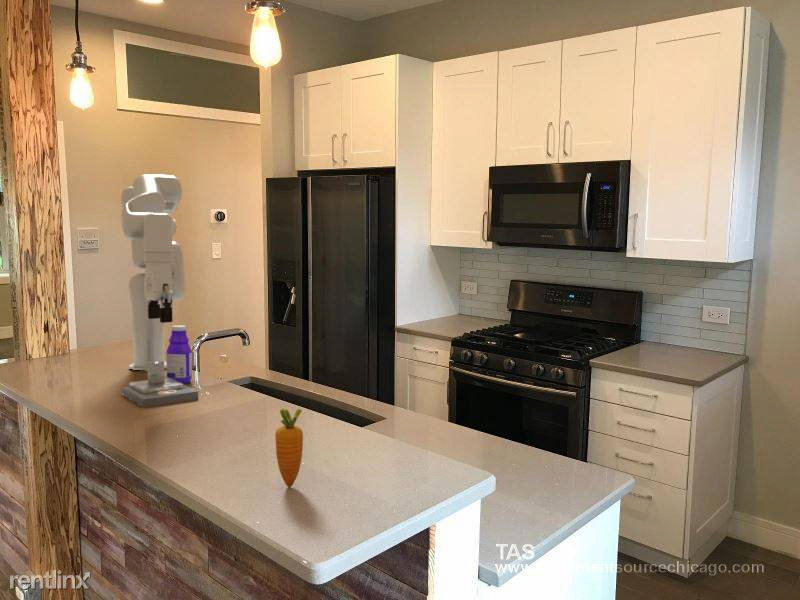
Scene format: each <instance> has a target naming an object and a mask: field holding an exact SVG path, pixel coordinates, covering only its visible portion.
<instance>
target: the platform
mask: <svg viewBox="0 0 800 600" xmlns="http://www.w3.org/2000/svg"><path fill="white" fill-rule="evenodd" d="M129 386H131V387H133V388H134V389H136V390H138V391H140V392H141V393H143V394H145V393H151V392H158V391H161V390H172V389H179V388H183V384H181V383H179V382H177V381H175V380H173V379H171V378H169V377H167V376H166V377H165V383H164V384H161V385H148V379H145V380H140V381H139V380H138V381H129Z"/></svg>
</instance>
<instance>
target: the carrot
mask: <svg viewBox="0 0 800 600" xmlns="http://www.w3.org/2000/svg"><path fill="white" fill-rule="evenodd" d="M301 412H302V409H301V408H297V410H296V411H295V413H294V415H293V417H292V416H291V414H290V411H289V410H288V409H285V408H283V407H282V408H281V409H279V413H280V415H281V417H282V419H281V420H280V422H281V423H282V424H283V426H281V427H279V428H278V429H277V430H276V431H275V450H276V451H275V452H276V460H277V464H278V469H279V472H280V475H281V478H282V480H283V482H284V483H285V485H286V486H287V487H288V488H289V487H290V488H291V487H292V486H293V485H294V483H295V481H296V480H297V477H298V475H299V473H300V468H301V463H302V459H303V447H304V432H303V430H302V429H301V428H300V427H299V426H298V425H295V424H296V422H297V420H298V418H299V416H300V415H301Z"/></svg>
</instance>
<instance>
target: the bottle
mask: <svg viewBox="0 0 800 600" xmlns="http://www.w3.org/2000/svg"><path fill="white" fill-rule="evenodd" d="M170 334H171V335H170V338H169V339H168V342H169V344H168V347H167V348H166V362H167V368H166V378H167V377H169V378H171V379H173V380H176V381H178V382H180V383H182V384H184V385H186V384H188V383H190V382H191V380H192V377H193V359H192V358H193V353H192V348H191V346H190V344H189V342H190V339H189V337H188V335H187V325H183V324H175V325H171V333H170Z"/></svg>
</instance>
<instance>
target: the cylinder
mask: <svg viewBox="0 0 800 600" xmlns="http://www.w3.org/2000/svg"><path fill="white" fill-rule="evenodd" d="M164 361H165V360H164ZM164 361H150V362H148V363H147V366H148V371H147V380H148V385H161V384H164V383H165V378H166V377H165V369H164Z"/></svg>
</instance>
